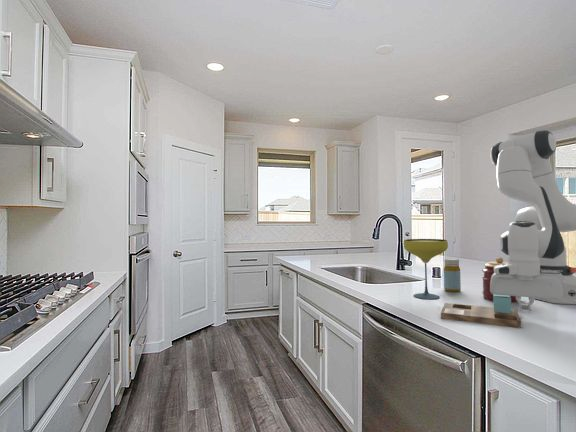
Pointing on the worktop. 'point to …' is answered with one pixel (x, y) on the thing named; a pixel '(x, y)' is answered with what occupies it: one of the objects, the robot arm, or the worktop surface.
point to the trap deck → (480, 315)
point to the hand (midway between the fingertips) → (525, 309)
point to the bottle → (452, 275)
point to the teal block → (502, 303)
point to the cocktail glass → (426, 257)
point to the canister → (487, 278)
